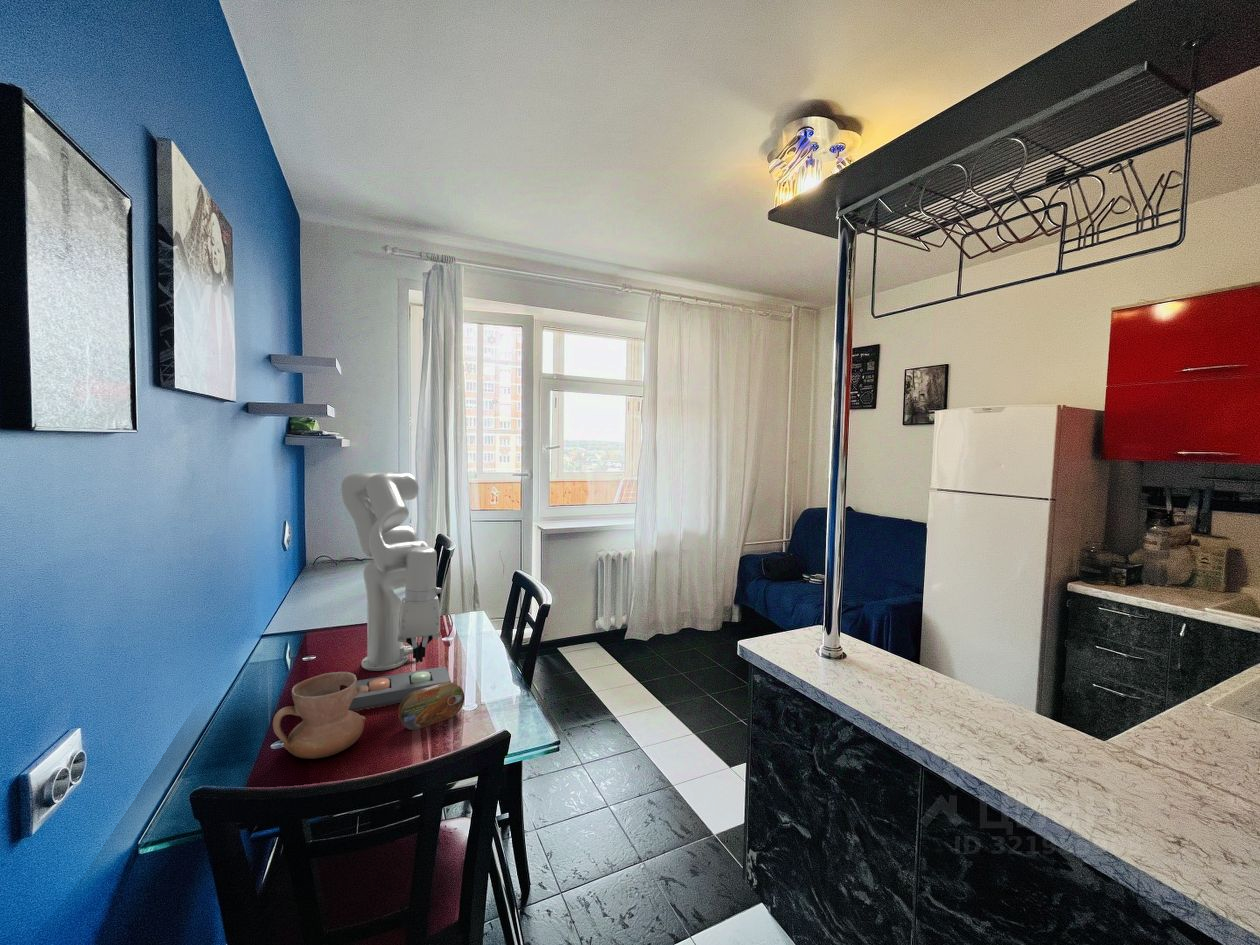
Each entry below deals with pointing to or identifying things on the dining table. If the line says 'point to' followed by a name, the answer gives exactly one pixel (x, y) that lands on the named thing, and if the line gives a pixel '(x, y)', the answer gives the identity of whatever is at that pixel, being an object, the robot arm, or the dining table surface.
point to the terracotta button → (379, 684)
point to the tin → (431, 705)
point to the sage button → (420, 677)
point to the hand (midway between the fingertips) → (418, 660)
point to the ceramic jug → (322, 716)
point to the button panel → (396, 688)
